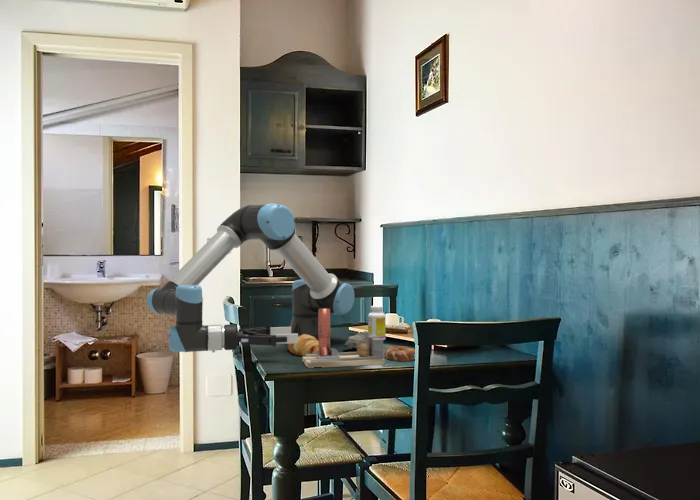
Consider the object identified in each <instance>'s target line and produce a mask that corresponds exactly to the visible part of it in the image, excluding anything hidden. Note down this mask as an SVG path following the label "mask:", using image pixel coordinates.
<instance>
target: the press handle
mask: <svg viewBox="0 0 700 500" xmlns="http://www.w3.org/2000/svg"><path fill="white" fill-rule="evenodd" d="M318 341H319V352H316V357H317V358H318V359H333V358H340V356H339V355H338V353H339V350H337V349H336V348H334V347H333V348H332V347H331V314H330V309H328V308H321V309H319V340H318Z"/></svg>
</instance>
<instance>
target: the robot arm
mask: <svg viewBox="0 0 700 500" xmlns="http://www.w3.org/2000/svg"><path fill="white" fill-rule="evenodd" d="M294 220H295V216H294V215H293V212H292V211H291V209H290V208H288V206H286V205H283V204H279V203H273V202H272V203H265V204H263V203H262V204H248V205H245V206H242V207H240V208H238V209H237V210H235V211H234V212H232V214H231V215H229V216H228V217H226V218H225V220H223V221H222V223H220V225H218V227H217V228H216V231H217V232H216V233H214V235H213V236H212V237H211V238H210V239H208V241H207V242H206V243H205V244H203V246H202V247H201V248H200V249H199V250H198V251H197V252H196V253H195V254H193V256H192V257H191V258H190V259H189V260H188V261H187V262H186V263H185V264H183V266H182V267H181V268H180V269H179V270H178V271H177V272H176V273H175V274H174V275H173V276H172V277H171V278H170V279H169V280H168V281H167V282H166V283H165V284H164V285H162V287H160V288H159V287H158V288H154V289H152V290H150V292H149V293H148V294H147V296H146V301H145V302H146V305H147V308H148V309H149V310H150V311H151V312H153V313H156V314H159V315H170V316H175V325H174V326H173V325H172V326H170V327H169V329H168V348H169V350H170V351H171V352H173V353H194V352H195V353H196V352H208V351H211V352H212V353H216V351H222V350H223V349H224V350H226V351H234V350H237V349H238V343H240V345H242V346H245V345H252V346H253V345H255V346H272V347H273V348H275V347H277V345H281V344H283V345H285V344H286V345H287V344H288V343H298V336H300V335H303V334H307V335H310V336H313V337H315V338H316V339H317V340H318V341H319V309H321V308H328V309H330V315H335V316H341V315H343V316H344V315H346V314H348V313H349V312H350V311H351V310H352V309H353V306H354V303H355V290H354V288H353V286H352V285H351V284H350V283H347V282H342V281H340V279H339V278H338V277H337V276H336V275H335V274H334V273H328V271H327V270H326V269H325V268H324V267H323V265H322V264H321V263H320V261H319V260H318V259H317V258H316V257H315V256H314V255H313V253H312V252H311V251H310V249H309V248H308V247H307V246H306V244H304V242H303V241H302V240H301V239H300V238H299V236H298V235H297V234H296V232H297V228H296V221H294ZM251 240H260V241H261V242H262V243H263V244H264V245H265V247H267V248H268V250H271V251H276V252H277V253H278V254H279V256H280V257H281V258H282V259H283V260H284V261H285V262H286V264H288V265H289V267H290V268H291V269H292V270H293V271H294V272H295V274H297V276H298V277H299V278H300V279H295V280H293V282H292V289H291V308H292V310H291V311H292V318H291V322H290V325H289V326H277V327H276V326H274V327H272V326H270V324H266V326H261V327H260V326H259V327H251V328H239V329H238V326H237V325H236V324H231V323H230V324H225V325H224V326H223V325H222V324H208V325H203V307H204V306H203V304H204V303H203V301H204V297H203V289H202V286H201V285H200V284H201V282H203V280H204V279H205V278H207V276H208V275H209V274H210V273H211V272H212V271H213V270H214V269H215V268H216V267H217V266H218V265H219V264H220V263H221V262H222V261H223V260H224V259H225V257H227V256H228V254H230V252H231V251H232V250H234V249H237V248H239V247H240V246H241V245H242V244H243V243H245V242H247V241H251Z"/></svg>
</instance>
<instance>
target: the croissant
mask: <svg viewBox="0 0 700 500" xmlns="http://www.w3.org/2000/svg"><path fill="white" fill-rule="evenodd" d="M286 347H287V349H288V350H289V352H290V353H291V354H293V355H297V356H301V357H306V354H316V352H319V340H317V339H316V338H315V337H313V336H310V335H307V334H303V335H300V336H298V343H288V344H286Z"/></svg>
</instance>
